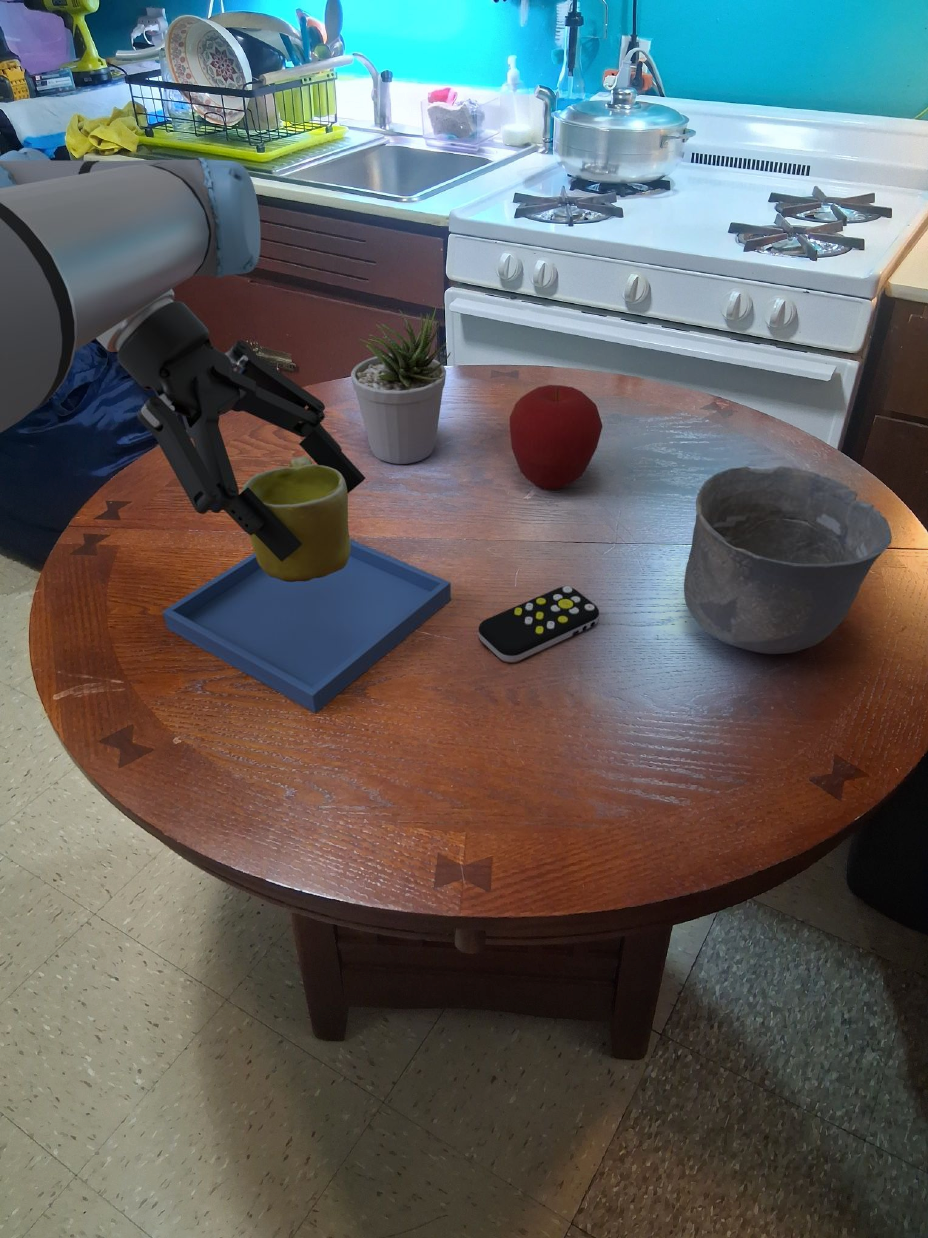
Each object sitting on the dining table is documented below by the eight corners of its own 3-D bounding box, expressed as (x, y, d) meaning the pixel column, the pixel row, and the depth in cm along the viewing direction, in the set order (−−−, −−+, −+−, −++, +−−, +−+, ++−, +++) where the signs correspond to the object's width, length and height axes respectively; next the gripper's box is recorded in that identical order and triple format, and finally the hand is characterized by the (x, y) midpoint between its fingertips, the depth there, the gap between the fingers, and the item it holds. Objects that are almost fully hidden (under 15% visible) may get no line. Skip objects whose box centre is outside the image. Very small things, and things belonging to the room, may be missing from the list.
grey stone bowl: (858, 608, 95) (902, 488, 85) (834, 713, 82) (882, 587, 73) (696, 566, 101) (720, 450, 91) (651, 658, 89) (673, 535, 79)
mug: (355, 583, 76) (316, 475, 72) (252, 605, 79) (208, 502, 75) (389, 531, 86) (356, 435, 82) (297, 552, 89) (261, 459, 85)
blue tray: (315, 713, 83) (312, 695, 81) (166, 628, 93) (161, 611, 91) (451, 599, 96) (450, 582, 95) (308, 536, 106) (306, 519, 105)
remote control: (472, 635, 92) (472, 621, 90) (567, 594, 97) (568, 579, 96) (507, 669, 88) (507, 654, 86) (604, 623, 93) (605, 608, 92)
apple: (600, 505, 111) (610, 409, 103) (508, 505, 111) (511, 408, 103) (591, 459, 120) (600, 367, 112) (507, 459, 121) (509, 366, 112)
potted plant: (384, 485, 115) (373, 337, 103) (344, 442, 125) (329, 301, 112) (467, 462, 120) (467, 318, 107) (423, 422, 129) (417, 285, 117)
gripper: (207, 307, 85) (361, 476, 90) (30, 408, 68) (232, 609, 74) (244, 257, 80) (405, 439, 85) (64, 353, 63) (278, 572, 69)
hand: (325, 518), depth 79 cm, fingers closed on mug, 11 cm apart
